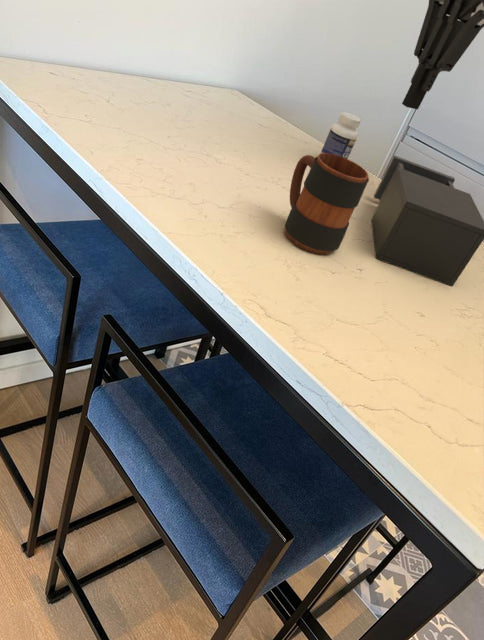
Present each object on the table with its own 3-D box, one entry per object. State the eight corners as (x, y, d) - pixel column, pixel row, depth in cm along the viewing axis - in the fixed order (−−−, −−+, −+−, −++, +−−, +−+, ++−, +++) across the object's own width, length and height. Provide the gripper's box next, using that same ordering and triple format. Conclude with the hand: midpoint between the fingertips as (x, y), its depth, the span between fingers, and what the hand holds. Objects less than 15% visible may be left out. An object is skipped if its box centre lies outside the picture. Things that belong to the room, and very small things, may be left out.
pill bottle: (340, 173, 111) (362, 124, 105) (315, 163, 112) (335, 113, 106) (344, 166, 115) (366, 118, 110) (320, 156, 116) (340, 108, 110)
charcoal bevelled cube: (371, 219, 98) (397, 167, 92) (439, 244, 98) (470, 193, 92) (375, 258, 86) (406, 201, 80) (452, 286, 87) (489, 231, 81)
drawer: (372, 186, 109) (391, 146, 104) (427, 206, 109) (449, 168, 104) (377, 225, 94) (400, 181, 89) (441, 249, 95) (468, 206, 90)
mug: (298, 212, 91) (328, 141, 84) (348, 254, 84) (385, 181, 77) (257, 214, 86) (285, 138, 78) (307, 258, 79) (342, 180, 72)
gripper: (442, -67, 88) (373, 89, 103) (501, -48, 80) (417, 118, 95) (474, -53, 92) (403, 95, 106) (534, -33, 84) (448, 125, 98)
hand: (409, 106), depth 100 cm, fingers closed
